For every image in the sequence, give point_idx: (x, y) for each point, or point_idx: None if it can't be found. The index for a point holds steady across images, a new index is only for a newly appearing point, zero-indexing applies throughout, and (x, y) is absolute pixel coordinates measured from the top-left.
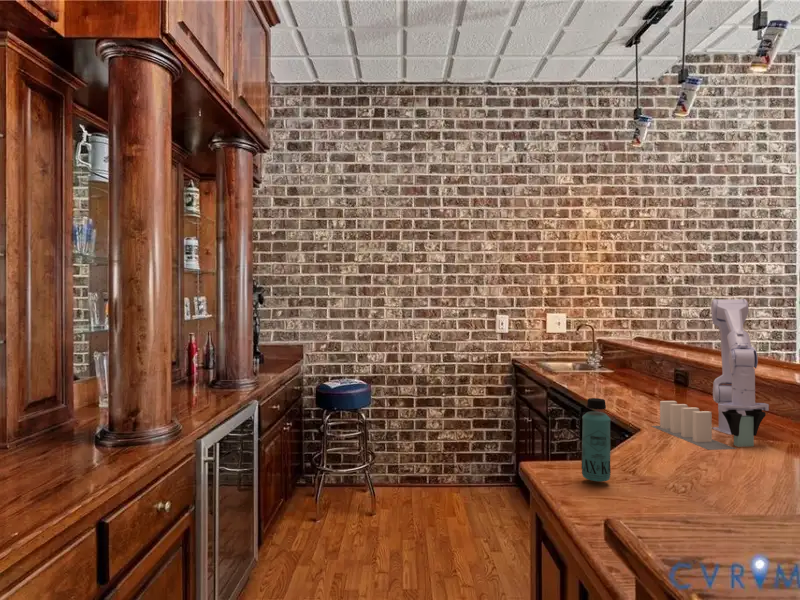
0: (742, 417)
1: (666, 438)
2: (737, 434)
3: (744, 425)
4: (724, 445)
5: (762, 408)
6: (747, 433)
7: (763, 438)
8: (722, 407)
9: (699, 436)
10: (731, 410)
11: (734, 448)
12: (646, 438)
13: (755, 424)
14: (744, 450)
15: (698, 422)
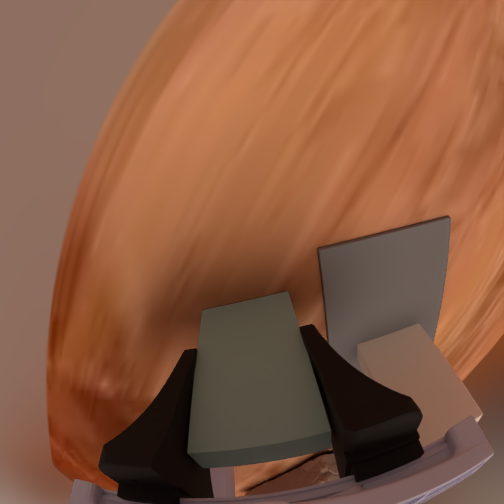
0: (285, 438)
1: (455, 348)
2: (310, 329)
3: (261, 390)
4: (343, 300)
5: (110, 501)
6: (236, 354)
7: (120, 407)
8: (484, 441)
9: (417, 342)
10: (404, 458)
11: (329, 255)
12: (495, 330)
13: (182, 401)
14: (283, 246)
15: (451, 384)
